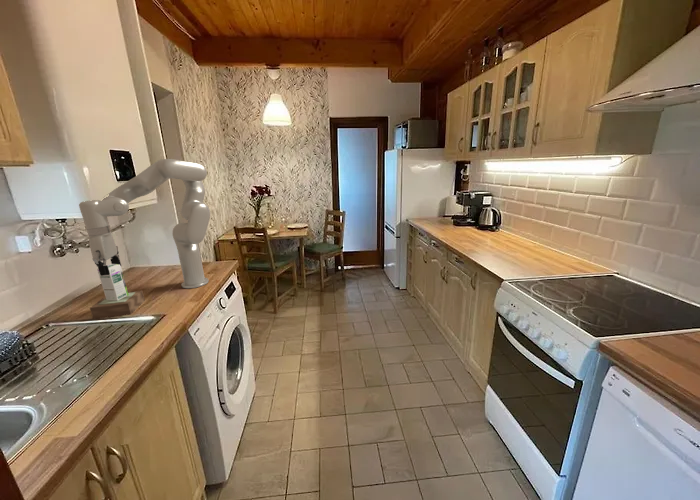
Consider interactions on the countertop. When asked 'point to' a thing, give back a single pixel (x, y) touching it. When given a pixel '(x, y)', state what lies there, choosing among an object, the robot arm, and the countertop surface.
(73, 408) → the countertop surface
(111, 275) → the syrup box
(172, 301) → the countertop surface
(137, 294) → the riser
